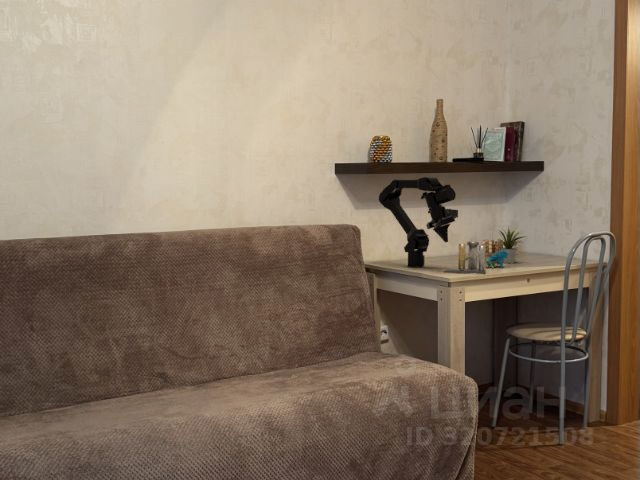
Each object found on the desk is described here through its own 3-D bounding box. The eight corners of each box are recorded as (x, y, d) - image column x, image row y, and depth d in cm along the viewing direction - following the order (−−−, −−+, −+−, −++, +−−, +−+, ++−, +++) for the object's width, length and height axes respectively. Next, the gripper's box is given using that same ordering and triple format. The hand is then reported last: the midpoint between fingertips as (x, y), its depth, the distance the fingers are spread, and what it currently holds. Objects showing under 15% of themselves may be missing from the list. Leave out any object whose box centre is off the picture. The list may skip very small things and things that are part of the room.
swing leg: (467, 265, 325) (468, 241, 324) (473, 265, 324) (474, 241, 323) (457, 268, 314) (458, 244, 313) (463, 269, 313) (464, 244, 312)
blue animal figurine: (501, 261, 339) (510, 247, 331) (508, 272, 335) (517, 257, 328) (480, 266, 334) (488, 251, 327) (486, 277, 331) (495, 262, 324)
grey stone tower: (479, 273, 311) (479, 245, 310) (465, 268, 329) (465, 241, 328) (490, 273, 312) (491, 245, 311) (476, 267, 329) (476, 241, 328)
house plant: (510, 265, 338) (511, 227, 337) (485, 262, 349) (486, 226, 348) (530, 263, 348) (531, 226, 346) (505, 260, 358) (506, 224, 357)
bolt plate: (444, 272, 314) (444, 269, 314) (445, 270, 320) (445, 268, 320) (484, 274, 310) (484, 271, 310) (485, 272, 316) (485, 269, 316)
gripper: (460, 197, 316) (472, 234, 316) (444, 203, 335) (456, 238, 334) (435, 205, 314) (447, 242, 314) (421, 211, 332) (432, 245, 332)
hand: (446, 242), depth 324 cm, fingers closed
